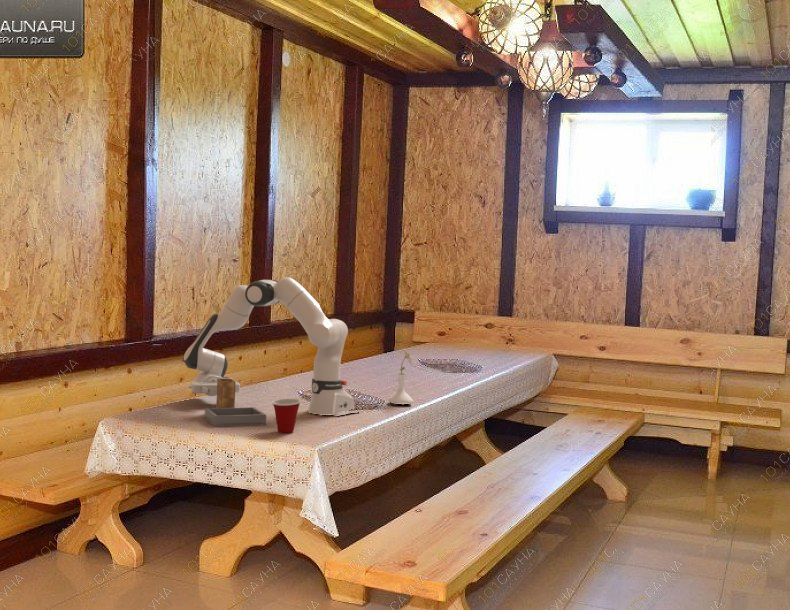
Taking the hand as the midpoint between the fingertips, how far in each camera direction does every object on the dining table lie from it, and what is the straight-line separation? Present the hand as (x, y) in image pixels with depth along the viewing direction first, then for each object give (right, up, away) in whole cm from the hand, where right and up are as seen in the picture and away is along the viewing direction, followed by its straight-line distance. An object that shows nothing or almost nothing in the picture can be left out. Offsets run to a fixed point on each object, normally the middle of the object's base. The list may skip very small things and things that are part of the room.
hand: (219, 390), depth 427 cm
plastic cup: (+31, -13, -37) cm, 49 cm away
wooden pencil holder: (+4, -9, -9) cm, 13 cm away
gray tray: (+10, -10, -22) cm, 26 cm away
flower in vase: (+74, -9, +36) cm, 83 cm away
